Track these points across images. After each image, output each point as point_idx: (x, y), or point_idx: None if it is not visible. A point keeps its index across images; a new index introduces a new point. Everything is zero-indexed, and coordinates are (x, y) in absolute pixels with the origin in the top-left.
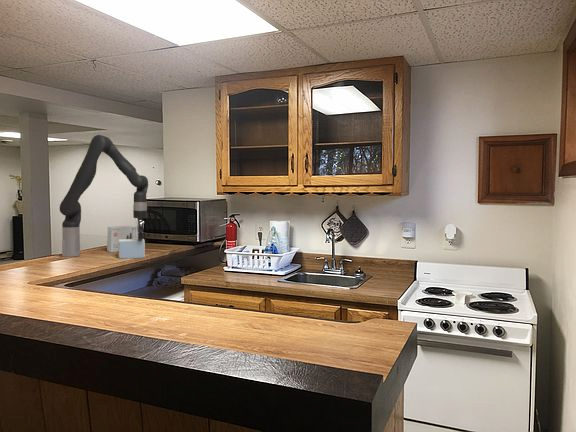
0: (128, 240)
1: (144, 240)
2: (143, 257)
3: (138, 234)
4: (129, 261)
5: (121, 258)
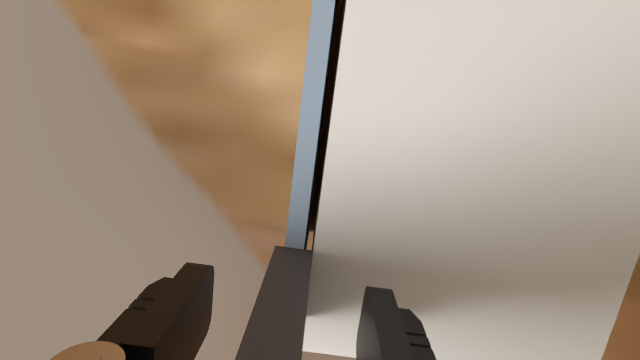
0: (444, 99)
1: (324, 353)
2: (315, 226)
3: (249, 328)
4: (133, 57)
5: (343, 8)
